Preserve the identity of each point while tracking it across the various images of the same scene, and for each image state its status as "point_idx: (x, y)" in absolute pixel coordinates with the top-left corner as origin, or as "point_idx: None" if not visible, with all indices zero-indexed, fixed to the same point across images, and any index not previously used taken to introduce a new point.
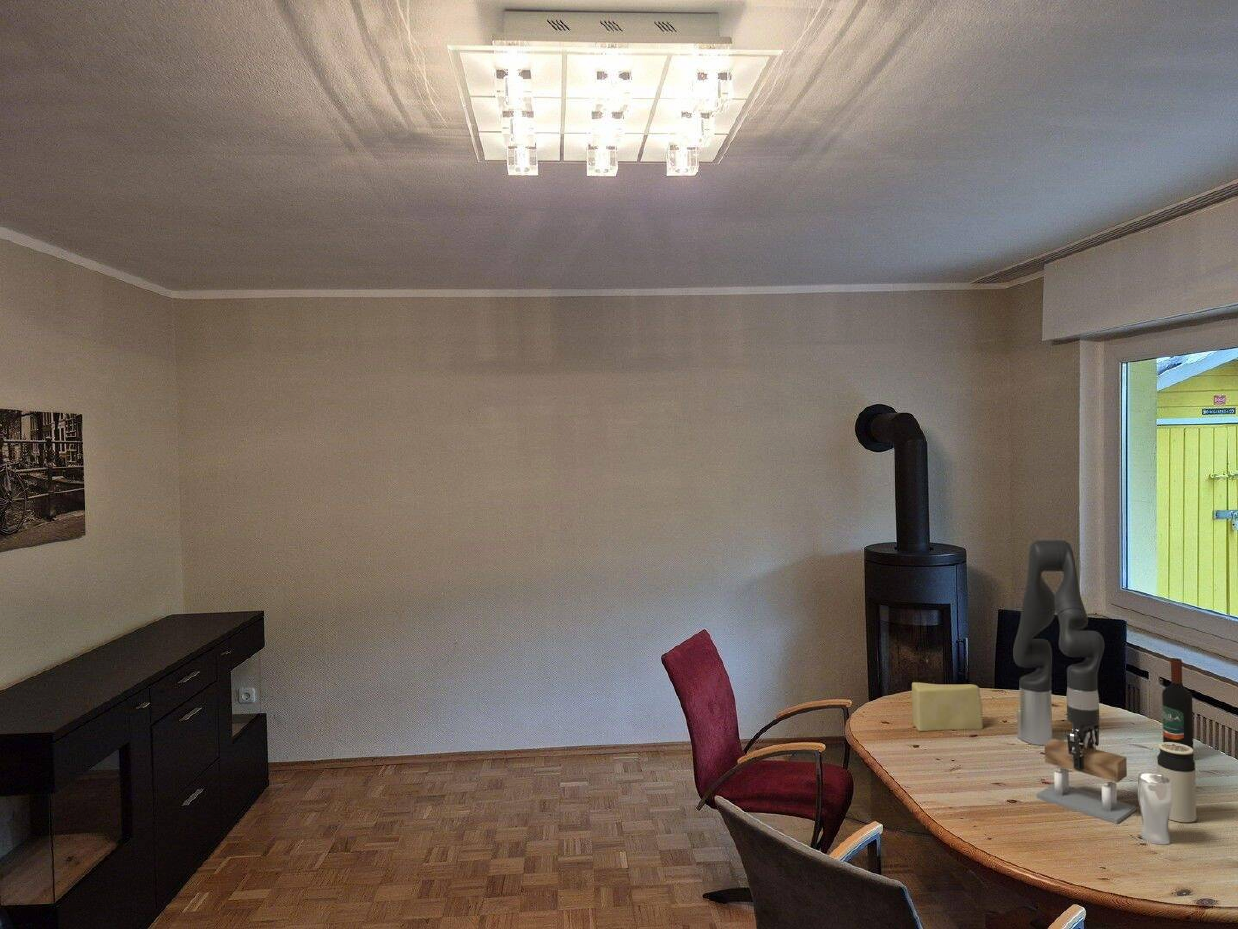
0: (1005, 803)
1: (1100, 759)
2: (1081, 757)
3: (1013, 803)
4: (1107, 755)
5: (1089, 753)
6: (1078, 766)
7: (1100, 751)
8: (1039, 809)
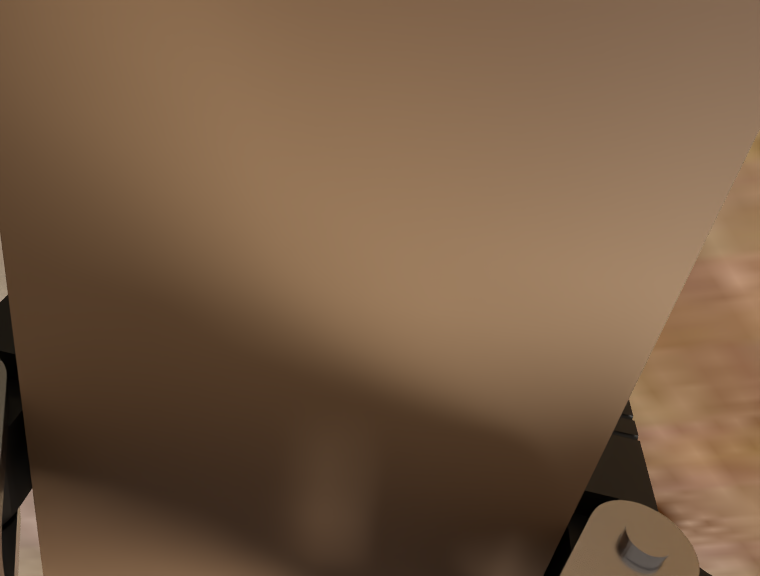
0: (709, 541)
1: (734, 173)
2: (615, 504)
3: (685, 508)
4: (275, 38)
5: (424, 440)
6: (625, 412)
7: (76, 253)
8: (716, 378)
